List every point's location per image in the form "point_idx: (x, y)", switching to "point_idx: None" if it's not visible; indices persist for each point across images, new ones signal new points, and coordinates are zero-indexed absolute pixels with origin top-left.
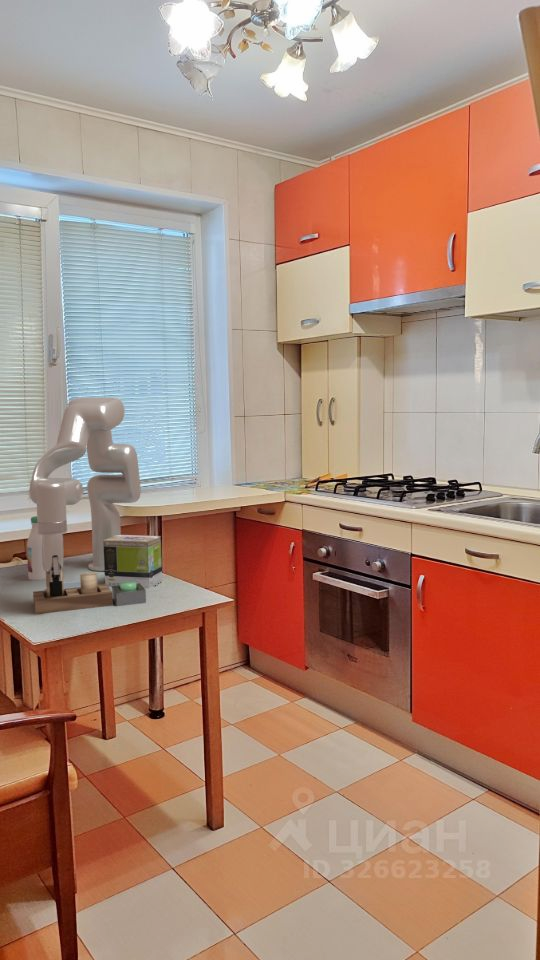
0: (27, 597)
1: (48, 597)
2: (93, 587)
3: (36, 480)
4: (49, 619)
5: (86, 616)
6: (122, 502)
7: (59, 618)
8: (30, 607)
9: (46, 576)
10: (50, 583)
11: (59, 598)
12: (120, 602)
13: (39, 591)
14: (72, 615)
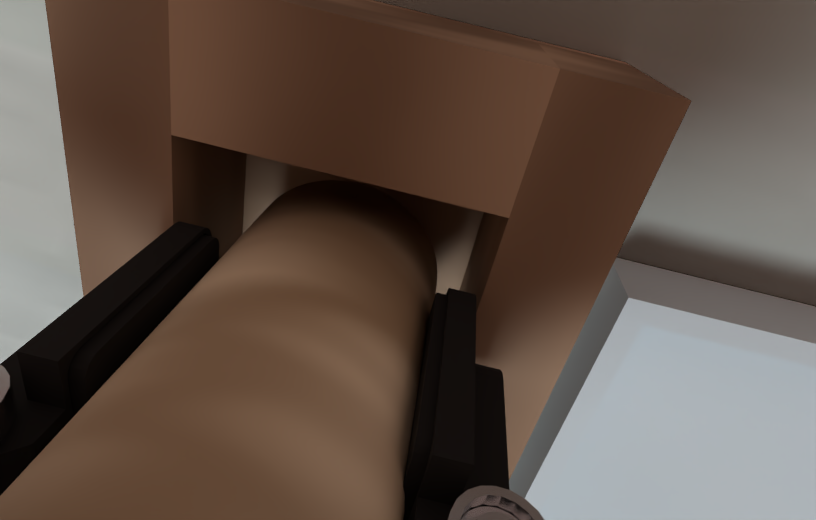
0: None
1: (284, 209)
2: None
3: None
4: (4, 51)
5: (19, 329)
6: None
7: (15, 146)
8: (589, 3)
9: (130, 442)
10: (40, 350)
11: (86, 282)
12: None
13: (615, 196)
14: (76, 263)
